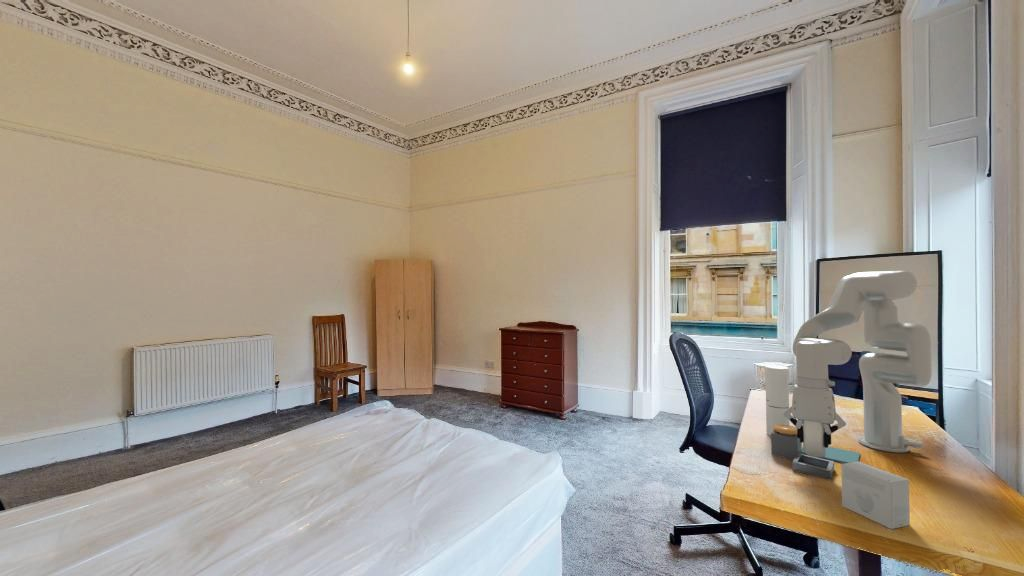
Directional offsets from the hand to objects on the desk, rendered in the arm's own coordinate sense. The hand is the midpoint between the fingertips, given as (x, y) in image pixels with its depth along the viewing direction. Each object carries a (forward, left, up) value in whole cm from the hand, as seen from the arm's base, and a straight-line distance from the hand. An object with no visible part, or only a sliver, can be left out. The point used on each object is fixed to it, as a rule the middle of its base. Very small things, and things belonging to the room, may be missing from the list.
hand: (814, 443), depth 117 cm
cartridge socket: (0, +1, -8) cm, 8 cm away
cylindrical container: (+14, -26, -8) cm, 31 cm away
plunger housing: (+8, -7, -8) cm, 14 cm away
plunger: (+8, -7, -4) cm, 12 cm away
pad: (-2, -17, -8) cm, 19 cm away
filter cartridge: (0, 0, -3) cm, 3 cm away
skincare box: (-14, +20, -8) cm, 25 cm away
